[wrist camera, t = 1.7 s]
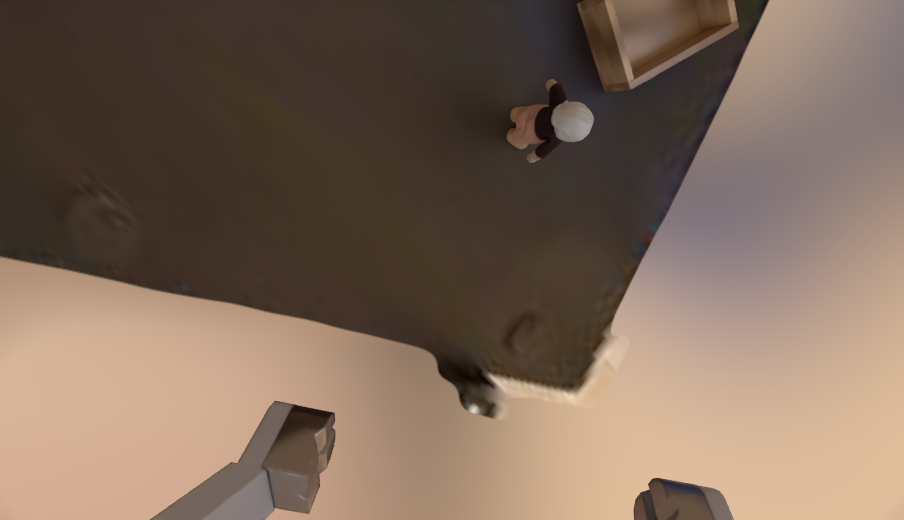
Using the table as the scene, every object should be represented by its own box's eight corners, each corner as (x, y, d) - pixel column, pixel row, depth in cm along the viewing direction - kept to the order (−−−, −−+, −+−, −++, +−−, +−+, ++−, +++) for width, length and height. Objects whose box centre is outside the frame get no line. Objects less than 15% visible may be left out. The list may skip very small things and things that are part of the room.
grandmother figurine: (535, 158, 47) (598, 169, 36) (503, 158, 46) (557, 170, 35) (539, 84, 45) (610, 71, 33) (506, 83, 44) (566, 69, 32)
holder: (576, 4, 43) (601, -9, 39) (684, -57, 44) (721, -76, 40) (604, 93, 47) (630, 90, 43) (704, 36, 48) (739, 27, 43)
